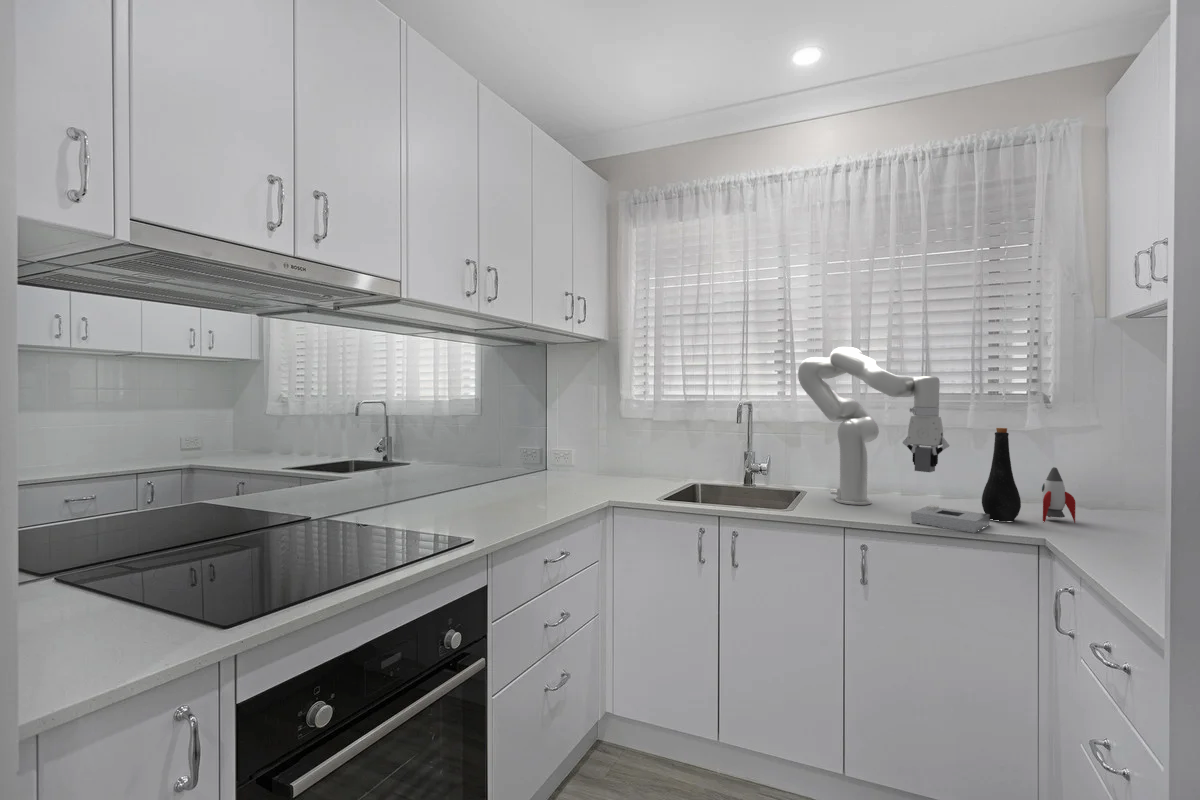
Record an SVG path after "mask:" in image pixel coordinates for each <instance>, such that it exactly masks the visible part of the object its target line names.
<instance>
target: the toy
mask: <svg viewBox="0 0 1200 800" xmlns="http://www.w3.org/2000/svg"><path fill="white" fill-rule="evenodd" d="M1041 492H1042V522H1043V521H1044V522H1045V523H1046V520H1047V518H1048V517H1050V518H1065V517H1066V515H1065V514H1064V512H1063V510H1064V508H1065V506H1066V507H1067V509H1068V511H1069V512H1070V514H1071V516H1072V517H1071V518H1072V521H1073V522H1074V524H1076V499H1075V498H1074V496H1073V495H1072V494H1071V493H1069V492H1067V491H1066V488H1065V485H1064V480H1063V479H1062V476H1061V474H1060V472H1059V470H1058V468H1057V467H1054V466H1053V467H1051V469H1050V471H1049V473H1048V475H1047V477H1046V479H1045V481H1044V483H1043V484H1042V486H1041ZM1044 522H1043V523H1044Z"/></svg>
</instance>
